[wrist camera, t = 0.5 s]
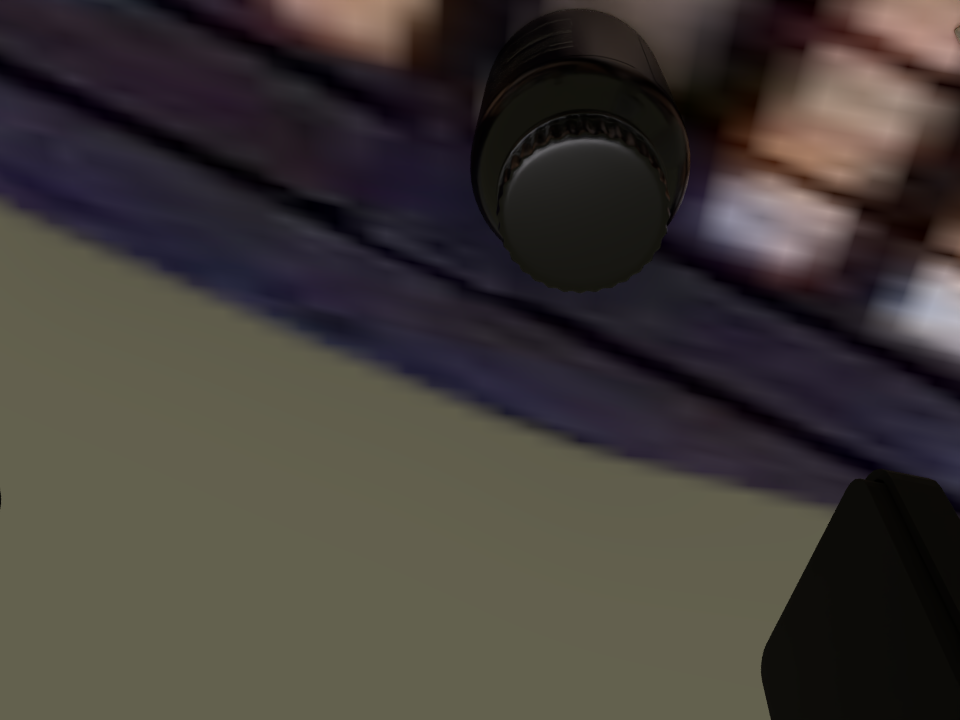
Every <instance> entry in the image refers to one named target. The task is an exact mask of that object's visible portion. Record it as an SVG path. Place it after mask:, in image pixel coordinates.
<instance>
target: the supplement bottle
mask: <svg viewBox="0 0 960 720" xmlns="http://www.w3.org/2000/svg"><path fill="white" fill-rule="evenodd" d="M470 172H471V183H472V188H473V193H474V196H475V200H476V202H477V205H478V207H479V210H480V212H481V214H482V216H483V218H484V219H485V221H486V223H487V224H488V226H489V227H490V229H491V230H492V231H493V232H494V233H495V235H496V236H497V237H498V238H499V239H500V240H501V241H502V242H503V246H504V247H505V248H506V249H507V250H508V251H509V252H510V256H511V259H512V260H513V261H514V262H516V263H518V264H519V265H520V268H521V270H522V271H523V272H525V273H528V274H530V275H531V277H532V278H533V279H534V280H535V281H538V282H543V283H544V284H545V285H546V286H547V287H549V288H558V289H559V290H561V291H563V292H568V291H574V292H577V293H583V292H585V291H592V292H597V291H599V290H601V289H602V288H612V287H614V286H615V285H616V284H618V283H621V282H625V281H627V280H628V279H629V278H630V277H631V276H632V275H634V274H637V273H639V272H640V271H641V270H642V268H643V266H644V265H645V264H647V263H649V262H650V261H652V258H653V254H654V253H655V252H656V251H657V250H658V249H659V248H660V247H661V239H662V238H663V237H664V236H665V234H666V233H667V226H668V225H669V224H670V222H671V221H672V219H673V218H674V216H675V214H676V213H677V211H678V209H679V207H680V205H681V203H682V200H683V197H684V194H685V192H686V188H687V184H688V179H689V173H690V149H689V143H688V137H687V133H686V130H685V126H684V123H683V120H682V118H681V115H680V113H679V110H678V108H677V106H676V103H675V101H674V99H673V96H672V94H671V92H670V90H669V87H668V85H667V83H666V80H665V78H664V76H663V73H662V71H661V69H660V67H659V64H658V62H657V60H656V59H655V57H654V55H653V53H652V51H651V50H650V48H649V47H648V45H647V44H646V43H645V41H644V40H643V39H642V38H641V37H640V36H639V35H638V34H637V33H636V32H635V31H634V30H633V29H632V28H630V27H629V26H628V25H627V24H625V23H623V22H622V21H620V20H618V19H616V18H614V17H612V16H610V15H607V14H605V13H601V12H597V11H593V10H586V9H570V10H562V11H557V12H553V13H550V14H547V15H544V16H542V17H540V18H538V19H536V20H534V21H532V22H530V23H529V24H527V25H526V26H524V27H523V28H522V29H520V30H519V31H518V32H517V33H516V34H515V35H514V36H513V37H512V38H511V39H510V40H509V41H508V42H507V43H506V44H505V46H504V47H503V49H502V50H501V51H500V53H499V55H498V56H497V58H496V60H495V62H494V64H493V66H492V69H491V71H490V74H489V77H488V80H487V84H486V88H485V92H484V96H483V100H482V105H481V109H480V113H479V118H478V122H477V126H476V130H475V135H474V139H473V144H472V150H471V166H470Z"/></svg>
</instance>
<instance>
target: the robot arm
mask: <svg viewBox="0 0 960 720" xmlns="http://www.w3.org/2000/svg"><path fill="white" fill-rule="evenodd" d="M0 507H1V493H0ZM761 676H762V683H763V686H764V691H765V696H766V700H767V704H768V708H769V713H770V717H771V720H960V519H959V518H958V516H957V514H956V512H955V511H954V509H953V507H952V505H951V504H950V502H949V500H948V498H947V497H946V495H945V493H944V491H943V490H942V488H941V487H940V485H939V484H938V483H937V482H936V481H934V480H932V479H929V478H924V477H919V476H914V475H909V474H904V473H899V472H894V471H889V470H883V469H878V470H874V471H873V472H872V473H871V474H869V475H868V477H867V478H866V480H864V479H855V480H854V481H852V482H851V483H850V485H849V486H848V488H847V489H846V491H845V493H844V495H843V497H842V499H841V501H840V503H839V505H838V506H837V508H836V510H835V512H834V514H833V516H832V518H831V520H830V522H829V524H828V526H827V528H826V530H825V532H824V534H823V536H822V537H821V539H820V541H819V543H818V545H817V547H816V549H815V551H814V553H813V555H812V557H811V559H810V561H809V563H808V565H807V567H806V569H805V570H804V572H803V574H802V576H801V578H800V580H799V582H798V584H797V586H796V588H795V590H794V592H793V594H792V595H791V598H790V599H789V601H788V603H787V605H786V607H785V609H784V611H783V613H782V615H781V617H780V619H779V621H778V623H777V624H776V626H775V628H774V630H773V632H772V634H771V636H770V638H769V640H768V642H767V644H766V646H765V649H764V652H763V656H762V663H761Z"/></svg>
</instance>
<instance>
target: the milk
mask: <svg viewBox="0 0 960 720" xmlns="http://www.w3.org/2000/svg"><path fill="white" fill-rule="evenodd" d="M955 34H956V36H957V39H958V41H959V43H960V27H958V28H957V29H956V30H955Z"/></svg>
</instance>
